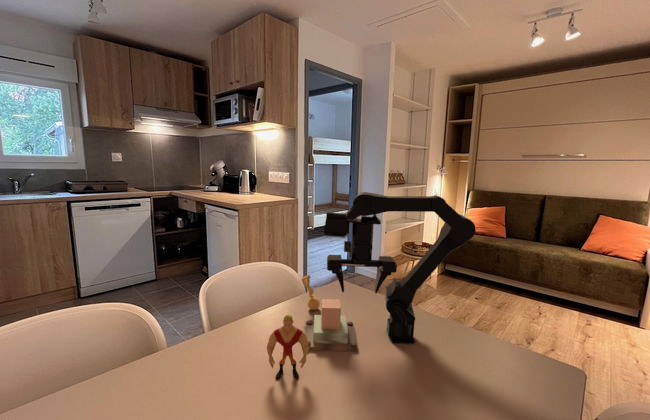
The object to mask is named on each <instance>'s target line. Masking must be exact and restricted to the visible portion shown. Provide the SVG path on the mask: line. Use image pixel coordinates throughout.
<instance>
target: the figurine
mask: <svg viewBox="0 0 650 420" xmlns="http://www.w3.org/2000/svg"><path fill="white" fill-rule="evenodd" d="M310 279H311V274H307V275H306V276H303V277H301V282H302V284H303V285H304V286H305V287H306V289H307V291H308V295H309V299H308V301H307V307H308V308H309V310H311V311H316V310H318V309H319V307H320V304H321V303H320V300H319V298H317V297H316V296H313V294H314V288H313V287H312V286H311V285H310V284H311V283H310V282H311V280H310Z"/></svg>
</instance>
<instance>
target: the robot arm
mask: <svg viewBox="0 0 650 420" xmlns="http://www.w3.org/2000/svg"><path fill="white" fill-rule="evenodd" d="M388 212H404V213H405V212H407V213H408V212H411V213H412V212H413V213H414V212H419V213H420V212H423V213H426V212H433V213H435V214H436V216H438V217H439V218H440V220H442V221H443V222H444V224H443V226H441V229H440V231H439V234H438V237H437V239H436V240H435V242H434V243H433V244H432V245H431V246H430V248H429V249H428V250H427V251H426V252H425V253H424V254H423V256H422V257H421V258H420V259H419V260H418V261H417V262H416V264H415V265H414V266H413V267H412V269H411V270H410V271H409V272H408V273H407V274H406V275H405V277H404V278H402V279H400V280H398V279H396V278H393V279H392V281H391V283H390V284H389V285H387V286H386V287H385V292H384V300H385V307H386V308H385V309H386V310H387V312H388V313H389V317H387V321H386V334H387V335H388V337H389V339H390V341H391V343H395V344H397V343H398V344H399V343H401V344H415V343H416V340H415V338H414V334H415V332H414V331H415V324H416V323H415V322H416V315H415V311H414V308H413V304H412V303H413V301H414V299H415V296H416V293H417V291H418V290H419V289H420V288H421V286H422V285H423V284H424V283H425V282H426V281H427V280H428V278H429V277H430V276H431V275H432V274H433V273H434V272H435V271H436V270H437V268H438V267H439V266H440V265H441V264H442V263H443V262H444V260H445V259H446V258H447V257H448V256H449V254H450V253H452V252H453V251H455V250H456V249H458V248H461V247H462V246H464V245H465V244H466V243H468V242H469V241H470V240H471V239H473V238H474V236H475V234H476V232H477V230H476V225H475V223H474V222H473V221H472V220H471V219H469V218H468V217H466V216H465V215H463V214H459V212H457V211H456V210H455V209H454V208H453V207H452V206H450V205H449V204H448V202H447V201H446V200H445V198H443V197H441V196H439V195H431V196H430V195H427V196H422V195H421V196H419V195H418V196H417V195H416V196H415V195H413V196H412V195H411V196H410V195H409V196H407V195H406V196H402V195H401V196H400V195H399V196H397V195H396V196H392V195H391V196H389V195H383V194H378V193H373V192H367V191H362V192H360V193H358V194H356V196H355V198H354V200H353V202H352V206H351V207H350V209H348V210H347V212H346V213H345V212H333V211H327V212H326V215H325V217H326V218H325V222H324V223H325V224H324V225H323V230H324V231H323V235H324V236H325V237H331V238H346V236H348V235H350V232H351V241H348V240H344V242H343V252H344V253H349V258H343V257H342V254H328V255H327V257H326V270H327V271H330V272H331V274H334V275H336V278H337V280H338V282H339V286H340V289H341V292H342V293H343V294H344V293H345V284H344V273H343V267H359V268H361V267H362V268H363V267H367V268H376V276H375V282H374V294H377V293H378V292H379V290H380V288H381V287H382V284H383V282H385V280H386V279H387V277H388V276H391V275H392V274H394V273H397V268H398V267H397V262H396V261H395V258H393V256H385V255H379V257H378V259H372V257H373V246H374V245H373V242H374V241H373V240H374V227H375V225H381V222H382V221H381V219H380V218H379V217H378V216H377V215H379V214H383V213H388ZM359 217H361V218H359ZM351 223H352V224H351ZM351 226H352V228H351Z"/></svg>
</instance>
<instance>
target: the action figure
mask: <svg viewBox="0 0 650 420" xmlns="http://www.w3.org/2000/svg"><path fill="white" fill-rule="evenodd" d="M293 319H294V318H293V315H291V314H285V315H284V316H283V320H282V326H281V327H278V328H277V329H275V330H273V331H272V333H271V334H270V335H269V338H268V342H267V345H266V351H267V355H268V362H269V365H270V367H271V368H272V369H274V365H275V364H276V361H275V359H274V357H273V354H274V350H275V347H276V345H277V343H278V344H280V345H281V346H282V348H283V351H282V358H281V359H280V360H279V369H278V371H277V373H276V375H275V377H274V378H275V380H279V379H280V378H281V376H282V374H283V373H284V365H285V363H286V359H287V357H288V358H289V361H290V366H291V367H292V374H293V376H294V377H293V378H295V380H298V379H299V378H300V375H299V372H298V370H297V361H296V359H294V354H293V347H294V345H296V344H297V343H298V344H300V346H301V349H302V354H303V356H302V357H301V359H300V361H299V364H301V365H300V369H303V367H304V365H305V364H306V362H307V355H308V353H309V351H310V350H309V344H308V341H307V337H306V335H305V331H303V330H302V329H300V328H298V327H296V326H295V325H293V324H294V320H293Z"/></svg>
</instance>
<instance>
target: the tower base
mask: <svg viewBox="0 0 650 420" xmlns="http://www.w3.org/2000/svg"><path fill="white" fill-rule="evenodd" d="M313 316H314V317H313V320H306V321H305V325H304V326H305V327H304V333H305V335H306V337H307V341H308V344H309V350H308V351H330V352H333V351H335V352H337V351H339V352H358V342H357V337H356V331H355V327H354V322H352V321H347V317H346V315H342V314H341V319H340V329H321V321H322V314H314V315H313Z"/></svg>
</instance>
